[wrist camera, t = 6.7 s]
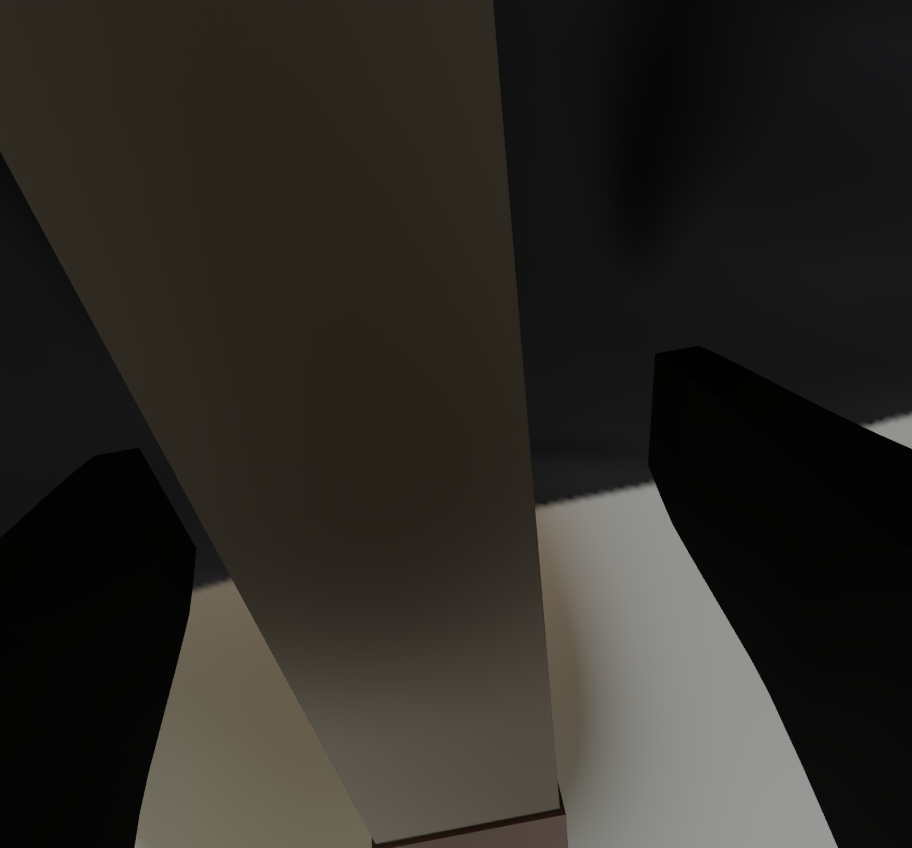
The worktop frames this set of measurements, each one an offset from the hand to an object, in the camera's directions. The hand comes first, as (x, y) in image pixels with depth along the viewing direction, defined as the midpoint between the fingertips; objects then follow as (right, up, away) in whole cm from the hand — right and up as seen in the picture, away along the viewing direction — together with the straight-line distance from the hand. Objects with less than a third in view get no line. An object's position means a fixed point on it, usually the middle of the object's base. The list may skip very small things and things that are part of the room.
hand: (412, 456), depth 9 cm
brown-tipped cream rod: (-1, +4, -1) cm, 4 cm away
